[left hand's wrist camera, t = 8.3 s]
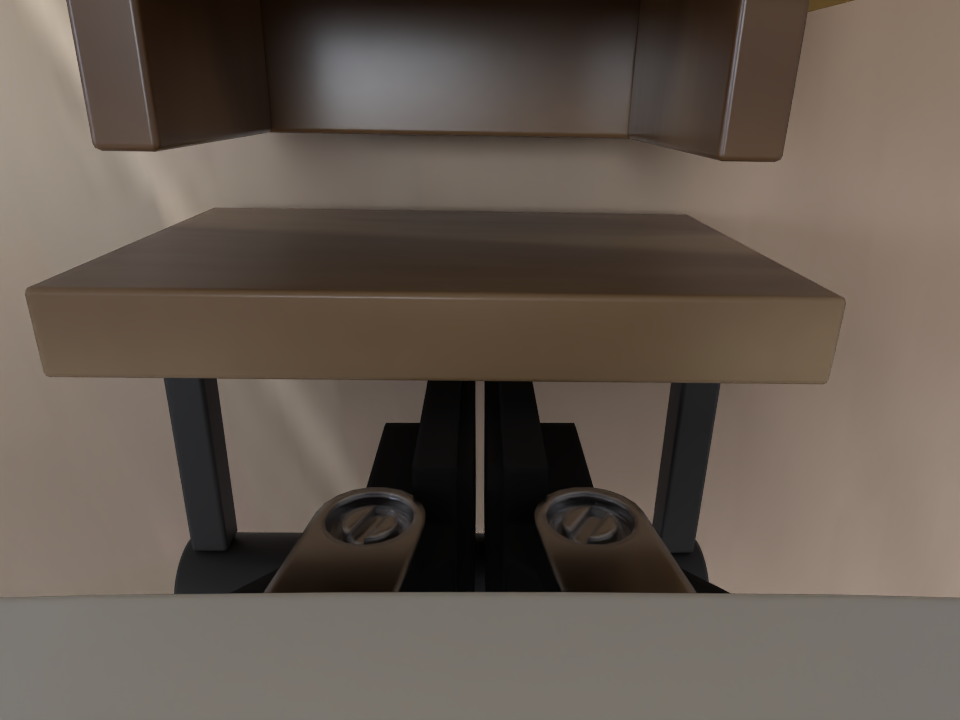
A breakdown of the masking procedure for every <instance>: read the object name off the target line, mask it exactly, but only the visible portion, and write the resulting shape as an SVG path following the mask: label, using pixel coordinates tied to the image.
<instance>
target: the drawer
mask: <svg viewBox="0 0 960 720" xmlns="http://www.w3.org/2000/svg"><path fill="white" fill-rule="evenodd" d="M66 1H67V6H68V12H69V17H70V23H71V28H72V33H73V39H74V44H75V50H76V55H77V61H78V66H79V71H80V77H81V82H82V88H83V93H84V99H85V104H86V109H87V115H88V120H89V126H90V131H91V137H92V142H93V145H94V146H95V148H97V149H100V150H102V151H153V152H156V151H162V150H168V149H174V148H179V147H185V146H191V145H197V144H203V143H209V142H215V141H221V140H227V139H233V138H239V137H245V136H251V135H257V134H263V133H268V132H278V133H336V134H393V135H450V136H507V137H565V138H622V139H634V140H638V141H642V142H646V143H650V144H654V145H658V146H662V147H666V148H670V149H675V150H679V151H683V152H687V153H691V154H695V155H699V156H703V157H707V158H711V159H716V160H720V161H746V162H776V161H778V160H781V158H782V156H783V150H784V144H785V138H786V133H787V127H788V121H789V116H790V110H791V104H792V98H793V93H794V87H795V81H796V75H797V70H798V64H799V58H800V52H801V47H802V41H803V35H804V30H805V24H806V18H807V12H808V7H809V1H810V0H66ZM25 296H26V300H27V304H28V308H29V313H30V317H31V321H32V325H33V329H34V334H35V338H36V342H37V346H38V350H39V355H40V359H41V363H42V367H43V371H44V373H45V375H46V376H49V377H122V378H164V382H165V388H166V394H167V400H168V406H169V412H170V418H171V424H172V430H173V436H174V442H175V448H176V454H177V460H178V466H179V472H180V478H181V483H182V489H183V495H184V501H185V507H186V513H187V519H188V525H189V531H190V537H191V539H190V540H189V542H188V543H187V545H186V547H185V549H184V551H183V553H182V556H181V559H180V562H179V566H178V570H177V574H176V580H175V589H174V594H229V593H231V592H233V591H235V590H237V589H239V588H241V587H243V586H245V585H247V584H249V583H251V582H253V581H255V580H257V579H259V578H260V577H262V576H264V575H266V574H268V573H270V572H272V571H274V570H276V569H278V568H280V567H281V565H282V564H283V562H284V561H285V559H286V558H287V556H288V555H289V553H290V551H291V550H292V548H293V547H294V545H295V544H296V542H297V541H298V539H299V538H300V536H301V535H302V533H255V532H237V524H236V517H235V510H234V502H233V495H232V488H231V480H230V473H229V466H228V458H227V451H226V444H225V436H224V429H223V422H222V414H221V407H220V400H219V392H218V385H217V378H229V379H336V380H443V381H550V382H657V383H671V388H670V396H669V404H668V411H667V419H666V426H665V434H664V441H663V449H662V457H661V464H660V472H659V479H658V487H657V494H656V502H655V510H654V517H653V525H652V526H653V527H654V529H655V530H656V532H657V533H658V535H659V536H660V538H661V539H662V541H663V542H664V544H665V545H666V547H667V548H668V550H669V551H670V553H671V555H672V556H673V558H674V559H675V561H676V562H677V564H678V565H679V567H680V568H682V569H684V570H686V571H688V572H690V573H692V574H694V575H696V576H698V577H700V578H701V579H703V580H705V581H707V582H709V580H708V573H707V568H706V564H705V560H704V556H703V553H702V551H701V548H700V546H699V544H698V542H697V541H696V540H695V538H696V532H697V525H698V519H699V513H700V507H701V501H702V494H703V488H704V482H705V476H706V470H707V463H708V457H709V451H710V445H711V439H712V432H713V426H714V420H715V414H716V408H717V401H718V395H719V389H720V383H764V384H825V383H827V381H828V380H829V376H830V371H831V367H832V362H833V358H834V353H835V349H836V345H837V340H838V336H839V331H840V327H841V322H842V318H843V313H844V309H845V305H846V304H845V299H844V298H843V297H841V296H839V295H837V294H836V293H834V292H832V291H830V290H828V289H826V288H824V287H822V286H820V285H819V284H817V283H815V282H813V281H811V280H809V279H807V278H805V277H803V276H802V275H800V274H798V273H796V272H794V271H792V270H790V269H788V268H786V267H784V266H783V265H781V264H779V263H777V262H775V261H773V260H771V259H769V258H767V257H766V256H764V255H762V254H760V253H758V252H756V251H754V250H752V249H750V248H749V247H747V246H745V245H743V244H741V243H739V242H737V241H735V240H733V239H732V238H730V237H728V236H726V235H724V234H722V233H720V232H718V231H716V230H715V229H713V228H711V227H709V226H707V225H705V224H703V223H701V222H699V221H697V220H696V219H694V218H692V217H690V216H688V215H667V214H600V213H533V212H466V211H399V210H332V209H265V208H213V209H210V210H208V211H206V212H203V213H201V214H199V215H196V216H194V217H192V218H189V219H187V220H185V221H182V222H180V223H178V224H175V225H173V226H171V227H168V228H166V229H164V230H161V231H159V232H157V233H154V234H152V235H150V236H147V237H145V238H143V239H140V240H138V241H136V242H133V243H131V244H129V245H126V246H124V247H122V248H119V249H117V250H115V251H112V252H110V253H108V254H105V255H103V256H101V257H98V258H96V259H94V260H91V261H89V262H87V263H84V264H82V265H80V266H77V267H75V268H73V269H70V270H68V271H66V272H63V273H61V274H59V275H56V276H54V277H52V278H49V279H47V280H45V281H42V282H40V283H38V284H35V285H33V286H31V287H28V288H27V289H26V292H25ZM475 592H485V533H475Z"/></svg>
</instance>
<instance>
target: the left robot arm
mask: <svg viewBox="0 0 960 720" xmlns="http://www.w3.org/2000/svg"><path fill="white" fill-rule="evenodd" d="M484 527H485V592H475V528H476V416H475V381H443V380H428V383H427V388H426V393H425V399H424V404H423V410H422V415H421V420H420V423H386V424H385V426H384V430H383V433H382V436H381V440H380V443H379V447H378V450H377V454H376V457H375V460H374V464H373V467H372V471H371V474H370V477H369V481H368V484H367V488H362V489H356V490H352V491H349V492H346V493H343V494H340V495H338V496H336V497H334V498H333V499H331V500H329V501H328V502H326V503H325V504H324V505H323V506H322V507H321V508H320V509H319V510H318V511H317V512H316V513H315V515H314V516H313V518H312V520H311V521H310V523H309V524H308V526H307V527H306V529H305V530H304V532H303V533H302V535H301V536H300V538H299V539H298V541H297V542H296V544H295V545H294V547H293V548H292V550H291V551H290V553H289V555H288V556H287V558H286V559H285V561H284V562H283V564H282V565H281V567H280V568H278V569H276V570H274V571H272V572H270V573H268V574H266V575H264V576H262V577H260V578H259V579H257V580H255V581H253V582H251V583H249V584H247V585H245V586H243V587H241V588H239V589H237V590H235V591H233V592H231V593H229V594H148V595H78V596H46V597H14V598H0V720H960V598H949V597H912V596H876V595H830V594H731V593H729V592H727V591H725V590H723V589H721V588H719V587H717V586H715V585H713V584H711V583H709V582H707V581H705V580H703V579H701V578H700V577H698V576H696V575H694V574H692V573H690V572H688V571H686V570H684V569H682V568H680V567H679V565H678V564H677V562H676V561H675V559H674V558H673V556H672V555H671V553H670V551H669V550H668V548H667V547H666V545H665V544H664V542H663V541H662V539H661V538H660V536H659V535H658V533H657V532H656V530H655V529H654V527H653V526H652V524H651V523H650V521H649V520H648V518H647V516H646V515H645V513H644V512H643V511H642V510H641V509H640V508H639V507H638V506H637V505H636V504H635V503H634V502H632V501H631V500H629V499H627V498H626V497H624V496H622V495H620V494H617V493H614V492H611V491H608V490H604V489H598V488H593V484H592V481H591V478H590V474H589V471H588V467H587V464H586V460H585V457H584V454H583V450H582V447H581V443H580V440H579V436H578V433H577V430H576V426H575V424H574V423H540V420H539V415H538V410H537V404H536V399H535V393H534V388H533V383H532V381H485V418H484Z"/></svg>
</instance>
